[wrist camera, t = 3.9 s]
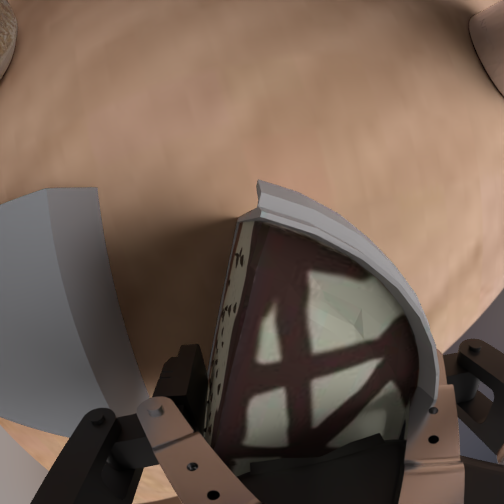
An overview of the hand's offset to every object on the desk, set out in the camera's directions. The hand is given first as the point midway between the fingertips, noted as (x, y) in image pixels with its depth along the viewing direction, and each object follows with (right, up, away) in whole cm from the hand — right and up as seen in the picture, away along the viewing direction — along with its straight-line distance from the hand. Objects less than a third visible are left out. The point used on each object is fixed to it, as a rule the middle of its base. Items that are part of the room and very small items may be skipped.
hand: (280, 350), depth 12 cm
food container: (0, +1, +4) cm, 4 cm away
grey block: (-15, 0, +3) cm, 15 cm away
